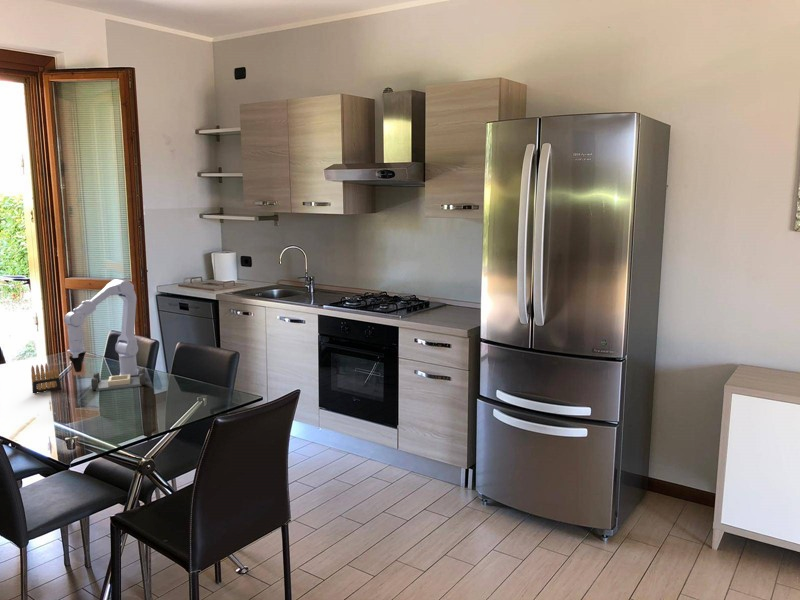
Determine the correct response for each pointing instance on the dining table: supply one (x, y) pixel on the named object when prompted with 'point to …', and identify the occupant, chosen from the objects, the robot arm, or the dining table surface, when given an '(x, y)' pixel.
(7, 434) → the dining table surface
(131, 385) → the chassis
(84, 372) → the block
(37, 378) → the ammunition clip
